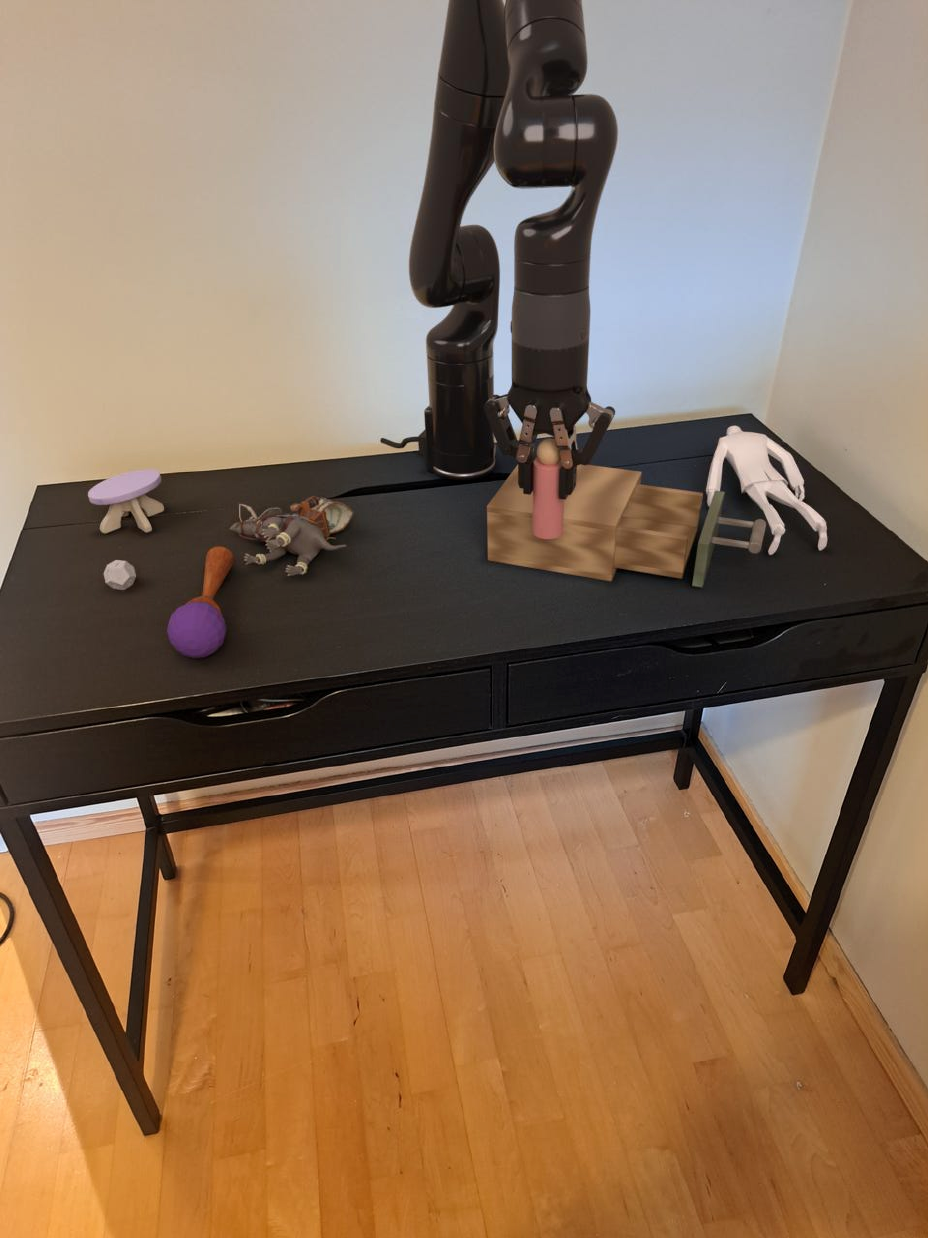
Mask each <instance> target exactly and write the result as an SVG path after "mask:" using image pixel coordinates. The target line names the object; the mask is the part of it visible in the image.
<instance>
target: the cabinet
mask: <svg viewBox="0 0 928 1238" xmlns="http://www.w3.org/2000/svg"><path fill="white" fill-rule="evenodd" d="M642 472H643V471H638V470H631V469H623V468H617V467H616V468H615V467H608V466H600V465H592V464H588V465H582V464H581V465H577V477H576V487H575V489H574V491H573V492H572V494H571V495H568V497H567V499H566V500H564V516H563V533H562V535H561V536H559V537H557V538H554V539H541V538H538V537H536V536H535V535H534V534H533V532H532V519H533V491H532V493H531V494H530V495H528V494H523V489H522V488H520V487H519V485H518V464H517V465H516V466H515V468H514V469H513V471H512V472H511V473H510V474H509V476H507V478H506V480H505V481H504V482H503V484H502V485H501V487H500V488H499V489H498V490H497V492H496V493H495V495H494V496H493V497H492V499H490V501H489V503H487V505H486V520H487V521H486V523H487V525H486V526H487V533H486V534H487V561H490V562H496V563H502V564H506V565H513V566H519V567H524V568H530V569H537V570H541V571H548V572H553V573H554V572H555V573H560V574H565V575H571V576H577V577H582V578H588V579H593V580H594V579H595V580H600V581H606V582H612V581H613V579H614V577H615V574H616V572H617V571H618V568H615V567H614V558H615V545H616V533H617V527H618V525H619V523H620V521H621V519H622V517H623V514H624V512H625V510H626V508H627V506H628V504H629V502H630V500H631V498H632V495H633V493H634V491H635V489H636V487H637V485H638V484H641V482H642ZM641 485H642V484H641Z"/></svg>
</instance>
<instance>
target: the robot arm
mask: <svg viewBox="0 0 928 1238" xmlns="http://www.w3.org/2000/svg"><path fill="white" fill-rule="evenodd" d="M584 19H585V18H584V9H583V1H582V0H505V3H504V0H448V3H447V11H446V18H445V24H444V31H443V38H442V43H441V44H442V45H441V51H440V57H439V63H438V71H437V76H436V77H437V78H436V84H435V85H436V86H435V87H436V88H435V94H434V103H433V113H432V123H431V125H432V126H431V133H430V141H429V148H428V154H427V156H428V157H427V163H426V169H425V176H424V181H423V187H422V190H421V195H420V200H419V205H418V209H417V213H416V218H415V223H414V227H413V231H412V235H411V236H412V237H411V241H410V246H409V247H410V248H409V254H408V278H409V284H410V288H411V291H412V293H413V295H414V297H415V299H416V300H417V302H418V303H419V304H420V305H422V306H423V307H426V308H429V309H441V308H447V307H451V308H450V310H449V312H448V313H447V315H446V316H445V317H443V319H442V320H441V321H439V322H438V323H437V324H435V325H434V326H433V327H432V328H430V329H429V331H428V332H427V334H426V335H425V336H426V337H425V351H426V367H427V385H428V386H427V387H428V389H427V390H428V406H426V408H424V412H423V414H424V415H423V417H424V430H423V431H422V432H421V433H419V434H418V435H417V436H408V437H406V438H403V439H402V441H401V442H395V441H392V440H389V439H387V438H385V437H380V441H379V442H380V444H384V445H385V446H388V447H391V448H393V449H404V448H406V446H407V444H409V443H418V456H423V457H426V469H427V472H430V473H434V474H435V475H436V476H438V477H440V478H443V479H447V480H450V481H471V480H478V479H481V478H484V477H486V476H488V475H490V474H492V473H493V472H494V470H495V468H496V457H495V456H496V453H497V446H498V449H499V452H500V454H502V455H503V456H506V457H507V456H511V457H513V458H514V459H516V461H517V465H518V485H519V487H520V488H522V489H523V494H528V495H530V494H531V493H532V491H533V462H534V460H535V459H536V458H537V455H534V451H535V448H536V447H535V446H536V444H537V443H536V442H537V438H538V435H543V434H546V435H548V436H551V437H554V440H556V446H557V448H558V449H559V453H560V459H561V464H562V466H561V467H560V477H559V499H564V500H566V499H567V497H568V495H571V494H572V492H573V491H574V489H575V487H576V477H577V465H581V464H582V465H590V463H591V461H592V459H593V458H594V456H595V454H596V453H597V450H598V449H599V446H600V445H601V443H602V441H603V439H604V437H605V435H606V433H607V431H608V429H609V427H610V425H611V423H612V421H613V419H614V417H615V415H616V409H615V408H614V407H613V406H612V405H611V406H610V405H609V406H606V407H603V406H601V405H599V404H597V403H595V402H593V401H592V397H591V394H590V392H589V390H588V389H589V388H588V376H589V375H588V373H589V372H588V371H589V353H590V331H591V298H590V275H591V254H592V242H593V241H592V240H593V234H594V228H595V223H596V219H597V214H598V211H599V207H600V203H601V200H602V196H603V193H604V189H605V186H606V184H607V180H608V178H609V175H610V171H611V168H612V165H613V162H614V158H615V155H616V151H617V146H618V139H619V127H618V120H617V117H616V114H615V111H614V109H613V107H612V105H611V104H610V103H609V100H607V99H606V98H605V97H603V96H601V95H598V94H595V93H594V94H593V93H581V94H575V93H576V92H578V90H579V89H580V88H581V87H582V85H583V83H584V81H585V80H586V78H587V77H586V76H587V73H588V48H587V38H586V37H587V36H586V28H585V20H584ZM493 165H495V167H496V170H497V172H498V174H499V176H500V177H501V178H502V180H503V181H504V182H505V183H506V184H507V185H509V186H510V187H512V188H515V189H521V190H522V189H523V190H527V189H528V190H529V189H530V190H531V189H533V190H534V189H550V188H551V189H552V188H569V187H570V188H571V189H570V191H569V194H568V195H567V197H566V199H565V200H564V202H563V203H561V204H560V206H558V207H556V208H553V209H551V210H549V211H545V212H542V213H539V214H535V215H532V216H528V217H527V218H524V219H523V220H521V221H520V222H519V223H518V225H517V226H516V228H515V232H514V240H513V241H514V242H513V243H514V245H513V247H514V248H513V250H514V251H513V253H514V255H513V256H514V259H513V260H514V262H513V263H514V264H513V265H514V267H513V269H514V270H513V271H514V273H513V274H514V275H513V277H514V279H513V281H514V282H513V283H514V284H513V285H514V286H513V297H512V305H511V321H510V326H509V327H510V328H509V329H510V334H511V386H510V389H509V390H508V392H507V393H505V394H502V395H500V394H495V377H494V375H495V374H494V373H495V371H494V370H495V369H494V360H495V359H494V358H495V357H494V342H495V339H496V336H497V333H498V328H499V309H500V308H499V307H500V288H501V287H500V286H501V266H500V265H501V263H500V257H499V249H498V247H497V244H496V241H495V239H494V237H493V235H492V233H491V232H490V231H489V230H488V229H487V228H486V227H484V226H482V225H480V224H467V225H461V224H462V221H463V217H464V214H465V212H466V208H467V206H468V204H469V202H470V200H471V198H472V197H473V196H474V194H475V192H476V190H477V189H478V187H479V186H480V184H481V183H482V181H483V180H484V178H485V177H486V176H487V175H488V173H489V171H490V170H491V168H492V167H493ZM510 408H511V409H512V411H513V412H514V414H515V415H516V417H517V418H518V420H519V421H520V423H521V430H520V433H519V438H517V435H516V432H515V430H514V427H513V425H512V421H511V419H510V416H509V413H510ZM586 414H587V416H588V422H587V423H588V426H589V428H591V429H592V430H591V433H590V434H589V437H588V438H587V441H586V443H585V445H584V446H583V448H579V447H578V443H577V435H578V433H577V428H576V424H578V422H579V421H580V420H581V419H582V417H584V415H586ZM496 445H497V446H496Z"/></svg>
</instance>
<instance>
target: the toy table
mask: <svg viewBox="0 0 928 1238" xmlns="http://www.w3.org/2000/svg"><path fill="white" fill-rule="evenodd" d="M161 483H162V475H161V472H160V471H159V470H157V469H151V468H150V469H149V468H145V469H135V470H131V471H127V472H123V473H119V474H116V475H114V476H111V477H109V478H107V479H104V480H102V481H100V482H98V483H97V484H95V485H94V486H92V487H91V488H90V489H89V490H88V492H87V497H88V500H89V503H91V504H93V505H97V506H106V505H109V507H108V511H107V513H106V514H105V516H104V517H103V519H102V520H101V522H100V525H99V530H100V532H101V533H102V534H108V533H110V532H113V531H116V530H118V529H121V527H122V524H121V522H122V518H125V517H128V516H129V515H130V513H131V514H132V516H133V518H134V520H135V522H136V525H137V528H138V529H140V530H141V531H142V532H144V533H151V532H152V531H153V527H152V525H151V523H150V521H149V519H148V517H152V516H155V515H158V514H160V513H163V512H164V511H165V507H164V504H163V503H162V502H160V501H158V500H156V499H154V498H152V497H149V496H148V495H147V493H150V492H151V491H153V490H154V489H155V488H157V487H158V486H159V485H161ZM129 512H130V513H129Z"/></svg>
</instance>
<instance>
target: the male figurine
mask: <svg viewBox="0 0 928 1238" xmlns="http://www.w3.org/2000/svg"><path fill="white" fill-rule="evenodd" d="M714 451H715V452H714V453H713V457H712V460H711V463H710V467H709V472H708V477H707V481H706V483H707V484H706V488H705V493H706V496H707V498H706V499H707V500H706V503H707V507H710V504H711V501H712V498H713V495H714V492H715V491H721V486H722V475H723V463H724V460H725V459H726V460H727V462H728V463H729V464H730V466H731V467H732V469H733V470H734V472H735V474H736V476H737V478H738V479H739V480H738V481H739V482H740V490H741V494H745V493H746V494H747V495H748V497H749V498H750V499H751V500H752V501H753V502H754V503H755V504H756V505H757V506H758V507H759V508H760V510H762V511H763V513H764V515H765V518H766V521H767V523H768V526H769V529H770V532H771V535H773V540H772V542H770V543H771V544H770V545H769V547H768V550H767V553H768V555H769V556H771V555H774V553H776V552H777V550H778V548H779V545H780V543H781V537H782V535H784V534H785V532H786V528H785V523H784V522H783V520H782V518H781V517H780V515H779V513H778V511H777V510H776V509H775V507H774V506H773V505H772V504H771V503H769V500H768V498H770V499H771V500H772V501H775V502H777V503H779V504H782V505H785V506H788V508H792V509H795V511H797V512H798V513H799V514H800V515H801V516H802V517H803V519H805V521H806V522H807V523H808V524H809V525H810V527H811V528H812V530H813V531H814V532H818V537H819V538H818V542H817V548H818V551H823V550H824V549H825V548H826V547H827V544H828V534H827V530H828V528H827V527H828V526H827V521H826V520H825V519H824V517H822V515H820V514H819V513H818V512H817V511H816V510H815V509H813V508H812V506H810V505H809V504H807V503H805V502H804V501H803V500H804V499H805V493H806V492H805V487H804V485H805V480H804V478H803V475H802V474H801V472H800V469H799V467H798V465H797V464H796V463H797V462H795V459H794V457H793V455H792V454H791V453H790V452H789V451H787V450H786V449H784V447H782V446H781V445H780V444H779V443H777V442H775V441H774V440H772V439H771V438H770V437H768V436H767V434H763V433H758V432H752V431H744V430H742V429H741V427H740V426H738V425H731V426H729V427H727V429H726V435H725V436H721V437H719V438H718V441H717V446H716V448H715V450H714ZM769 456H771V457H772V458H774V459H775V460H777V461H779V462H780V464H781V466H782V469H783V471H784V474H785V477H786V478H784V477H783V476H782V475H781V473H780V472H779V471H778V470H777V469H776V468H775V467H773V465H772V463H771V462H770V458H769ZM788 484H789V487H790V488H791V490H792V491H794V493H793V492H792V491H791V490H790V488H789V487H788Z"/></svg>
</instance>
